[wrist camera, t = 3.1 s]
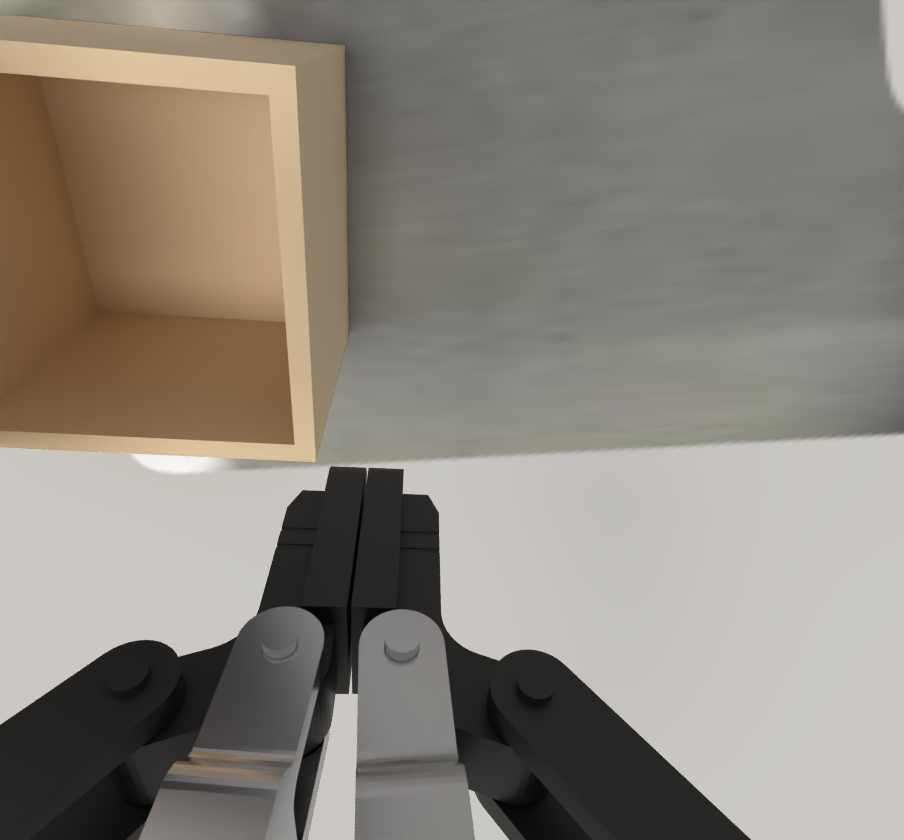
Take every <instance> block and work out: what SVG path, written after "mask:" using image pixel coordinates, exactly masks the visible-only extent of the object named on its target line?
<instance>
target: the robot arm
mask: <svg viewBox="0 0 904 840" xmlns="http://www.w3.org/2000/svg"><path fill="white" fill-rule="evenodd" d="M403 471H404V470H403V469H384V468H369V470H368V477H367V471H366V468H357V467H333V466H331V467H330V470H329V474H328V479H327V483H326V488H325V491H307V490H303V491H302V492H301V493H300V494H299V495H298V496H297V497H296V498H295V499H294V501H293V502H292V503H291V504H290V505H289V506H288V507H287V511H286V514H285V518H284V521H283V525H282V531H281V532H280V536H279V539H278V543H277V548H276V550H275V553H274V557H273V561H272V564H271V568H270V571H269V575H268V579H267V582H266V586H265V589H264V593H263V596H262V600H261V604H260V607H259V610H258V613H257V615H256V616H254V617H253V618H252V619H250V620H249V621H248V622H247V623H246V624H245V625H244V626H243V628H242V629H241V630H240V632H239V634H238V636H237V637H236V638H234V639H232V640H230V641H229V642H227V643H225V644H222V645H220V646H217V647H214V648H211V649H207V650H203V651H199V652H195V653H191V654H187V655H184V656H180V657H178V656H177V654H176V653H175V652H174V650H173V649H172V648H170V647H169V646H168V645H166V644H164V643H161V642H158V641H153V640H152V641H151V640H140V641H133V642H129V643H126V644H123V645H120V646H118V647H116V648H113V649H111V650H110V651H108V652H107V653H105V654H103V655H102V656H100V657H99V658H97V659H96V660H95V661H93V662H92V663H90V664H89V665H87V666H86V667H84V668H83V669H81V670H80V671H79V672H77V673H76V674H74V675H73V676H71V677H70V678H68V679H67V680H65V681H64V682H62V683H61V684H60V685H58V686H56V687H55V688H54V689H52V690H51V691H49V692H48V693H46V694H45V695H44V696H42V697H41V698H39V699H37V700H36V701H35V702H33V703H32V704H30V705H29V706H28V707H26V708H24V709H23V710H21V711H20V712H19V713H17V714H16V715H14V716H13V717H11V718H10V719H8V720H7V721H5V722H4V723H2V724H1V725H0V840H308V835H309V830H310V825H311V820H312V816H313V811H314V807H315V802H316V797H317V792H318V788H319V782H320V778H321V773H322V769H323V764H324V759H325V754H326V750H327V745H328V740H329V729H330V726H331V722H332V716H333V708H334V701H335V694H349V686H350V677H351V668H352V693H353V694H358V719H357V721H358V722H357V768H356V794H355V795H356V798H355V840H475V838H474V829H473V821H472V813H471V805H470V797H469V789H470V790H472V791H475V793H476V796H477V798H478V800H479V801H480V803H481V804H482V806H483V807H484V808H485V810H486V811H487V812H488V813H489V815H490V816H491V817H492V818H493V820H494V821H495V822H496V823H497V825H498V826H499V827H500V828H501V830H502V831H503V832H504V834H505V835H506V836H507V837H508V839H509V840H751V839H750V838H749V837H747V836H746V835H745V834H744V833H743V832H742V831H741V830H740V829H739V828H738V827H737V826H736V825H735V824H733V823H732V822H731V821H730V820H729V819H728V818H727V817H726V816H725V815H724V814H723V813H722V812H721V811H720V810H718V808H717V807H715V806H714V805H713V804H712V803H711V802H710V801H709V800H708V799H707V798H706V797H705V796H704V795H703V794H702V793H701V792H699V791H698V790H697V789H696V788H695V787H694V786H693V785H692V784H691V783H690V782H689V781H688V780H687V779H686V778H685V777H684V776H682V775H681V774H680V773H679V772H678V771H677V770H676V769H675V768H674V767H673V766H672V765H671V764H669V762H667V760H665V759H664V758H663V757H662V756H661V755H660V754H659V753H658V752H657V751H656V750H655V749H654V748H653V747H651V745H649V744H648V743H647V742H646V741H645V740H644V739H643V738H642V737H641V736H640V735H639V734H638V733H637V732H636V731H635V730H633V729H632V728H631V727H630V726H629V725H628V724H627V723H626V722H625V721H624V720H623V719H622V718H621V717H620V716H619V715H617V714H616V713H615V712H614V711H613V710H612V709H611V708H610V707H609V706H608V705H607V704H606V703H605V702H604V701H603V700H601V699H600V698H599V697H598V696H597V695H596V694H595V693H594V692H593V691H592V690H591V689H590V688H589V687H588V686H587V685H585V683H583V682H582V681H581V680H580V679H579V678H578V677H577V676H576V675H575V674H574V673H573V672H572V671H571V670H570V669H569V668H567V667H566V666H565V665H564V664H563V663H562V662H561V661H559V660H558V659H556V658H554V657H553V656H551V655H549V654H546V653H544V652H541V651H536V650H520V651H515V652H512V653H510V654H508V655H506V656H505V657H503V658H502V659H501V660H500V661H498V660H495V659H491V658H489V657H486V656H483V655H479V654H477V653H474V652H472V651H469V650H468V649H466V648H464V647H462V646H461V645H460V644H458V643H457V642H456V641H455V640H454V639H453V638H452V637H451V636H450V634H449V633H448V632H447V630H446V628H445V626H444V624H443V621H442V617H441V594H440V554H439V513H438V511H437V509H436V508H435V506H434V504H433V503H432V501H431V499H430V498H429V496H428V495H414V494H413V495H412V494H403Z"/></svg>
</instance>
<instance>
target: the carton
mask: <svg viewBox="0 0 904 840" xmlns="http://www.w3.org/2000/svg"><path fill="white" fill-rule="evenodd" d="M348 335H349V293H348V217H347V141H346V65H345V45H338V44H327V43H316V42H305V41H294V40H283V39H272V38H261V37H250V36H239V35H228V34H217V33H206V32H195V31H184V30H173V29H162V28H150V27H139V26H128V25H117V24H106V23H95V22H84V21H73V20H62V19H51V18H40V17H29V16H18V15H0V447H8V448H28V449H50V450H72V451H94V452H115V453H135V454H157V455H178V456H200V457H221V458H243V459H264V460H286V461H307V462H316V459H317V455H318V452H319V448H320V444H321V440H322V436H323V432H324V428H325V424H326V420H327V417H328V413H329V409H330V405H331V401H332V397H333V393H334V389H335V385H336V382H337V378H338V374H339V370H340V366H341V362H342V358H343V354H344V350H345V347H346V343H347V339H348Z"/></svg>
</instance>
